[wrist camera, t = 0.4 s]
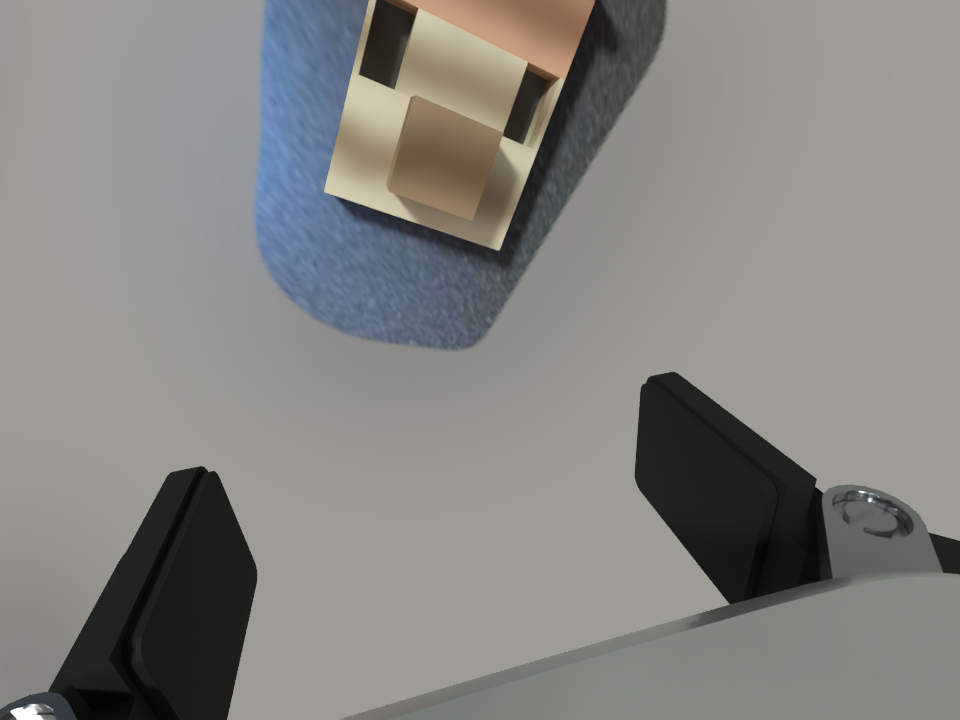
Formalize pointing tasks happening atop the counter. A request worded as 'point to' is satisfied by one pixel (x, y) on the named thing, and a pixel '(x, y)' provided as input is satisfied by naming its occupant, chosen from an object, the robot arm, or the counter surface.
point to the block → (442, 158)
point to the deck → (455, 96)
